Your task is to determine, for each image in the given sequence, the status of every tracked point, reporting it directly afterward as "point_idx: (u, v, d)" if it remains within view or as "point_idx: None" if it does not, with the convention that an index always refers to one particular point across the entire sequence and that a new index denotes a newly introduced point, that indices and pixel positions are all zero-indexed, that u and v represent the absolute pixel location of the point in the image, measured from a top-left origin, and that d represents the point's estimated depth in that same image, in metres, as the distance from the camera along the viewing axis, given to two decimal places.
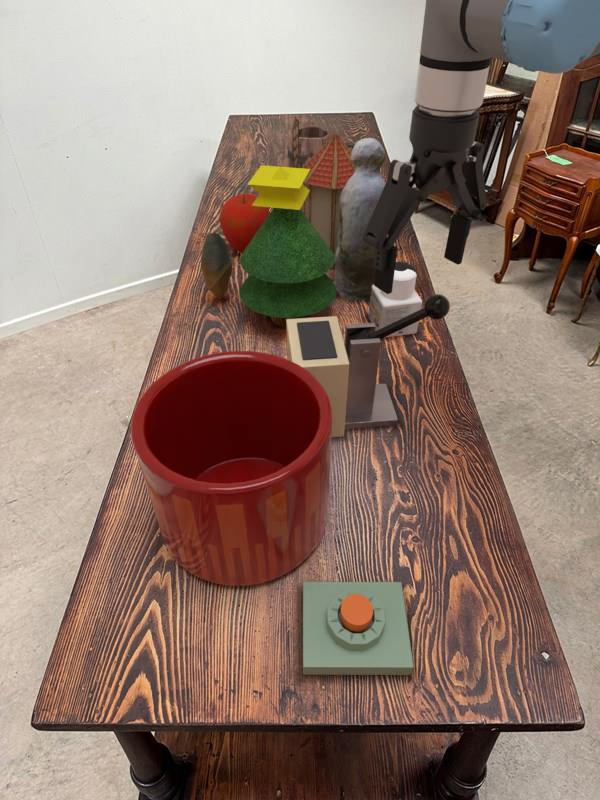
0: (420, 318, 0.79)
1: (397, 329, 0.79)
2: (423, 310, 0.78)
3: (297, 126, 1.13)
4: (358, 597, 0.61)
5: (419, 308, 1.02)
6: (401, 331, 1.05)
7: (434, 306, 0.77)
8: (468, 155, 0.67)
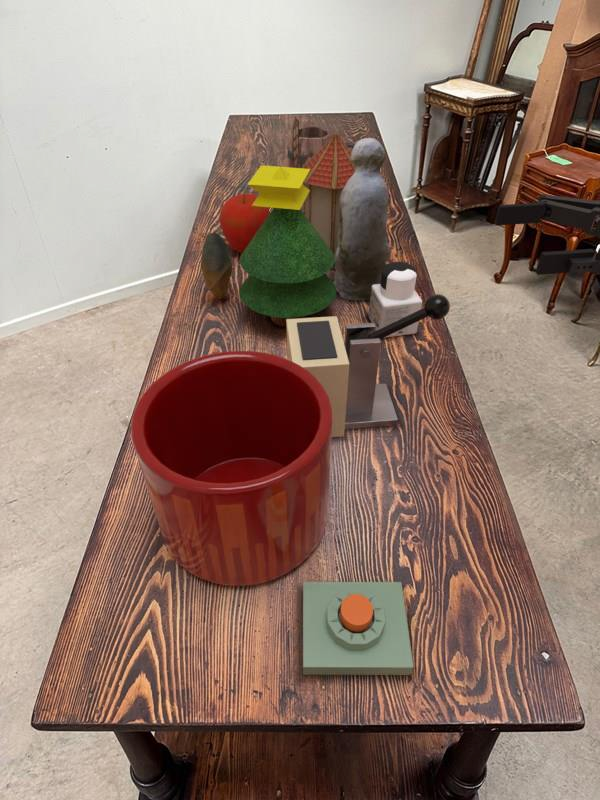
0: (420, 318, 0.79)
1: (397, 329, 0.79)
2: (423, 310, 0.78)
3: (297, 126, 1.13)
4: (358, 597, 0.61)
5: (419, 308, 1.02)
6: (401, 331, 1.05)
7: (434, 306, 0.77)
8: None
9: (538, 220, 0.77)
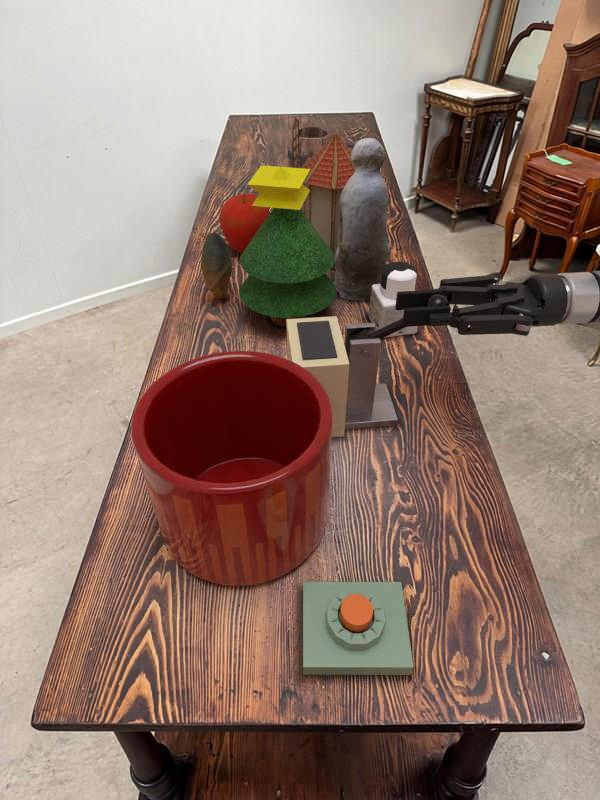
0: None
1: (397, 329, 0.79)
2: None
3: (297, 126, 1.13)
4: (358, 597, 0.61)
5: None
6: (401, 331, 1.05)
7: None
8: None
9: None
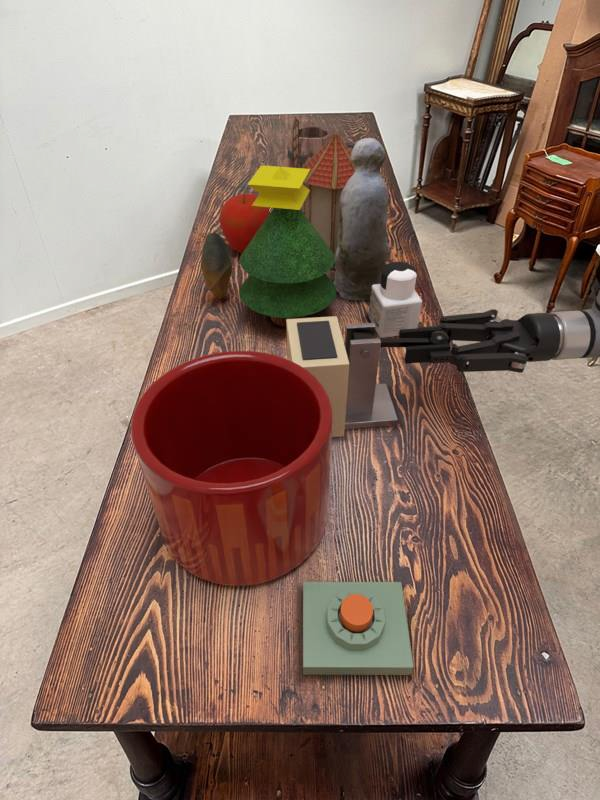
0: (421, 345, 0.82)
1: (398, 345, 0.82)
2: (427, 340, 0.82)
3: (297, 126, 1.13)
4: (358, 597, 0.61)
5: (419, 308, 1.02)
6: None
7: (440, 340, 0.81)
8: None
9: None
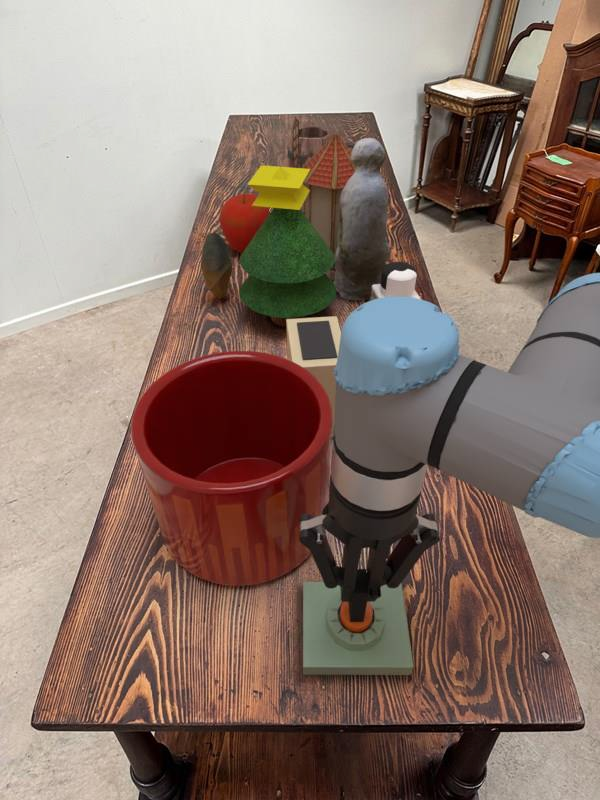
0: None
1: None
2: None
3: (297, 126, 1.13)
4: None
5: None
6: None
7: None
8: (417, 531, 0.49)
9: None
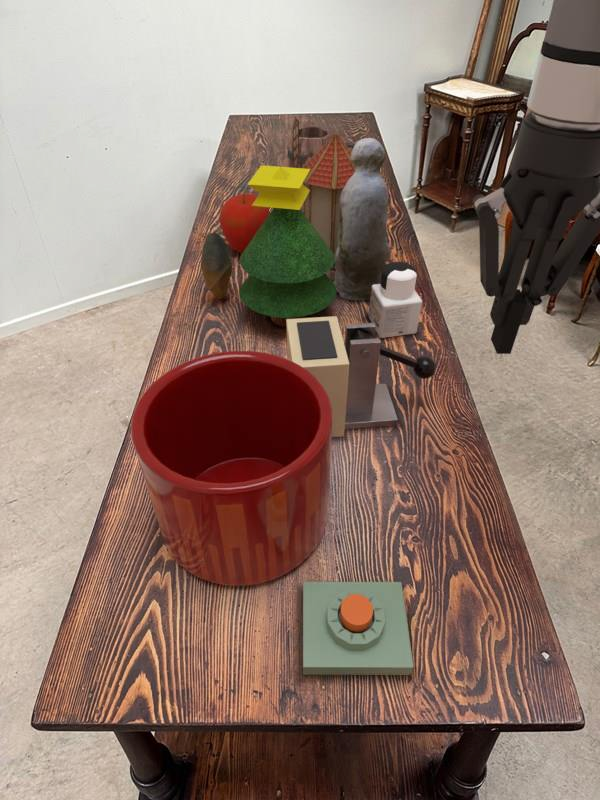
0: (410, 364, 0.84)
1: (392, 357, 0.83)
2: (416, 361, 0.85)
3: (297, 126, 1.13)
4: (358, 597, 0.61)
5: (419, 308, 1.02)
6: (401, 331, 1.05)
7: (429, 366, 0.84)
8: (594, 205, 0.49)
9: None
